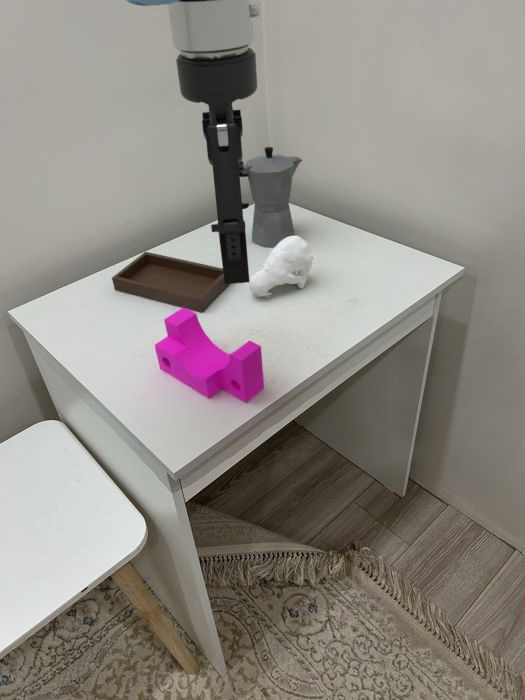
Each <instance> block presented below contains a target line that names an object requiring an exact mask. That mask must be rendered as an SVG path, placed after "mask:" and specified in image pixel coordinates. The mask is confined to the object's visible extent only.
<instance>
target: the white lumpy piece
mask: <svg viewBox="0 0 525 700" xmlns="http://www.w3.org/2000/svg"><path fill="white" fill-rule="evenodd" d="M272 248H273V249H271V251H270V252H269V254H268V257H267V259H265V261H264V262H263V264H262V268H261V269H260V270H258V271H256V272H255V273H253V275H251V277H249V281H250V282H248V287H249V290H250V291H251V293H252V294H254V295H256V296H257V297H258V298H261V297H265V298H268V297H269V296H270V295H272V293H271V292H269V290H270V289H272V288H274V287H276V286H283V285H285V284H290V285H293V284H294V285H295V284H296V285H297V288H299V289H303V288H304V287H305V284H306V281H307V279H308V277H309V273H310V271H311V269H312V265H313V261H314V256H313V255H312V253H311V248H310V245H309V244H308V242H307V241H306V240H304V239H303V238H302V237H300V236H299V235H295V236H289V237H286V238H285V239H283V240H282V241H280V242H279V243H278V244H277V245H276V246H275V247H272Z"/></svg>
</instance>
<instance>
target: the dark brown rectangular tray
mask: <svg viewBox="0 0 525 700" xmlns="http://www.w3.org/2000/svg"><path fill="white" fill-rule="evenodd" d="M111 281H112V284H113V288H114V291H118V292H121V293H125V294H129V295H132V296H136V297H140V298H144V299H147V300H152V301H156V302H160V303H163V304H168V305H172V306H175V307H179V308H181V309H182V308H183V307H184V308H186V309H188V310H190V311H193V312H199V313H204V312H205V310H207V308H209V306H211V304H213V302H214V301H216V299H217V298H218V297H219V296H220V295H221V294H222V293H223V292H224V291H226V289H227V288H228V287H230V285H231V284H225V283H224V274H223V267H217V266H213V265H208V264H204V263H199V262H194V261H190V260H185V259H181V258H176V257H172V256H167V255H162V254H158V253H154V252H149V251H144V252H143V253H142V254H140V255H138V256H137V257H136V259H134V260H132V261H131V262H129V264H128V265H126V266H125V267H124V268H122V269H121V270H120V271H118V272H117V273H116V274H114V275H113V276H112V277H111Z"/></svg>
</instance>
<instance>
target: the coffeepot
mask: <svg viewBox="0 0 525 700" xmlns="http://www.w3.org/2000/svg"><path fill="white" fill-rule="evenodd" d="M273 152H274V147H272V146H266V147H264V153H265V155H258V156H256V157H254V158H251V159H248V160H246V162H245V164H244V171H239V174H240V178H246V177H247V179H248V184H249V189H250V193H251V197H252V201H253V202H254V208H253V216H252V217H253V218H252V230H251V242H253V243H254V244H256V245H258V246H261V247H264V248H265V247H266V248H274V247H275V246H276V245H277V244H278V243H279V242H280V241H282V240H283V239H285V238H286V237H289V236H296V235H295V228H294V222H293V218H292V214H291V209H290V202H289V201H290V199H291V192H292V183H293V177H294V175H295V172H296V171H297V169H298V167H299V165H300V163H302V162H303V159H302V158H300V157H299V156H285V155H281V154H273ZM249 204H250V203H249V202H247V203H244V202H242V210H246V209H248V208H249V206H250V205H249Z"/></svg>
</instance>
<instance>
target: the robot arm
mask: <svg viewBox="0 0 525 700" xmlns="http://www.w3.org/2000/svg"><path fill="white" fill-rule="evenodd" d="M126 1H127V2H128V3H129V4H132V5H135V6H139V7H140V6H142V7H150V6H151V7H152V6H161V5H162V6H163V5H167V10H168V16H169V23H170V31H171V37H172V44H173V45H172V46H173V48H175V50H177V51H179V52H180V53H179V54H178V55H177V57H176V59H175V61H176V63H175V64H176V69H177V70H176V71H177V77H178V83H179V91H180V94H181V96H182V98H183V99H185V100H186V101H188V102H190V103H191V102H192V103H194V104H199V103H203V104H206V105H208V111H205V112H202V113H201V114H202V119H201V124H202V133H203V138H204V139H205V141H206V142H205V143H206V152H207V153H206V154H207V159H208V163H209V165H211V166H212V175H213V185H214V195H215V196H214V197H215V207H216V216H217V223H215V224H213V223H212V224H211V225H210V226H211V227H210V228H211V232H212V233H218V239H219V247H220V256H221V264H222V268H223V274H224V283H225V284H230V285H234V284H245V283H249V282H250V281H249V279H250V272H249V271H250V270H249V269H250V268H249V258H248V249H247V248H248V245H247V233H246V228H247V227H246V221H245V220H244V213H243V212H244V211H243V210H244V209H242V203H243V199H242V188H241V187H242V186H241V177H240V174H239V171H244V165H245V164H244V161H243V147H242V146H243V145H242V138H243V134H244V132H243V131H244V130H243V118H242V112H241V109H234V108H233V103H234V102H236V101H237V100H245V99H247V98H250V97H251V96H253V95H254V94H255V93H256V91H257V90H258V73H257V56H256V52H255V51H254V50H253V49H252V48H250V47H249V46H250V45H252V44H253V42H254V41H255V35H254V34H255V32H254V31H255V30H254V22H253V20H252V19H251V18H257V17H259V16H260V15H261V13H260V7H259V5H258V4H256V3H255V4H251V3H252V0H126Z"/></svg>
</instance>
